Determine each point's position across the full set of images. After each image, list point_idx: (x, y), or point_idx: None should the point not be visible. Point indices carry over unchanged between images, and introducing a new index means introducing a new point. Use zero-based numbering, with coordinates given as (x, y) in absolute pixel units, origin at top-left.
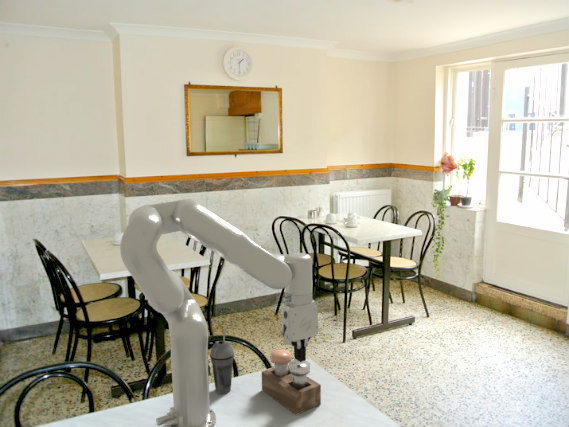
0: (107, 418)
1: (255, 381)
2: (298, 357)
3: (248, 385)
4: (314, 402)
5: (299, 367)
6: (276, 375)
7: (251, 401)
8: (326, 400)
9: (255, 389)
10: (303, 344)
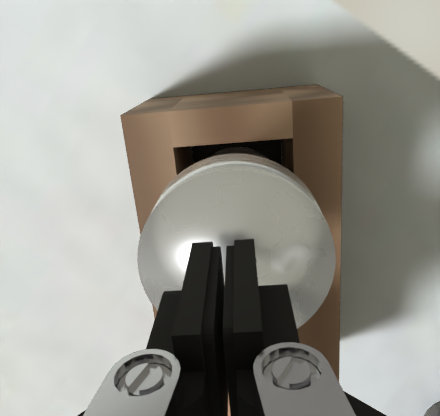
0: None
1: None
2: (272, 286)
3: None
4: (188, 97)
5: (272, 216)
6: None
7: (414, 296)
8: (102, 115)
9: None
10: (182, 397)
